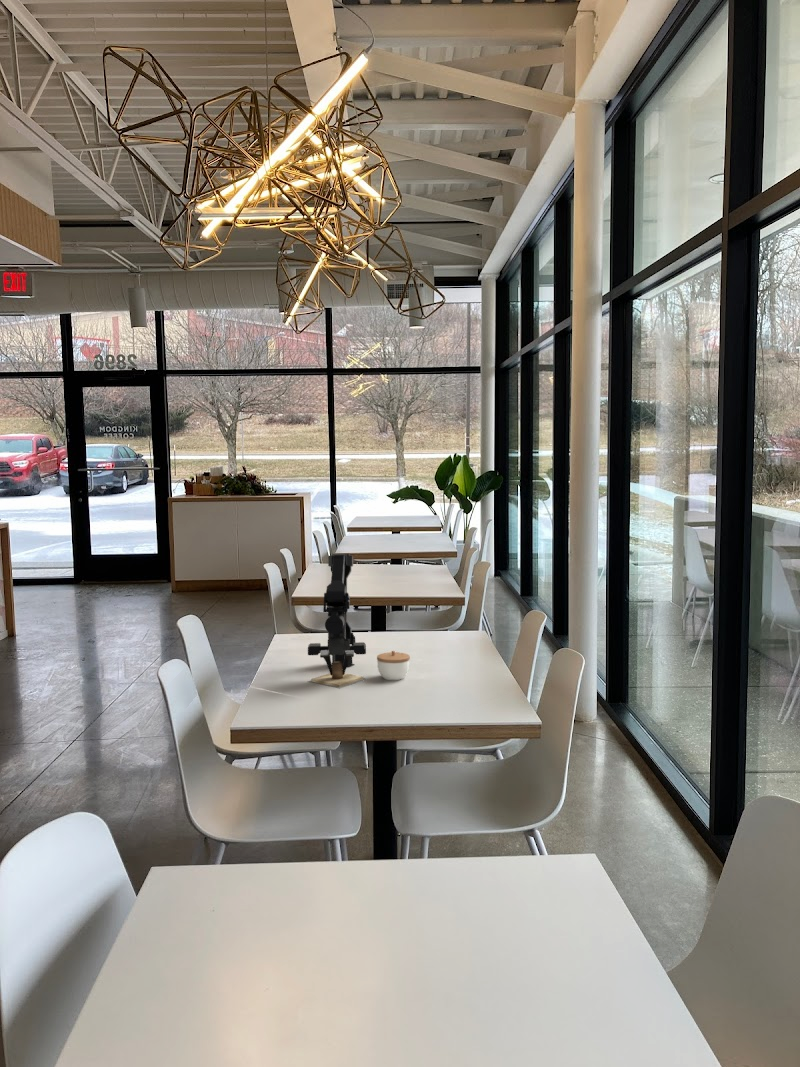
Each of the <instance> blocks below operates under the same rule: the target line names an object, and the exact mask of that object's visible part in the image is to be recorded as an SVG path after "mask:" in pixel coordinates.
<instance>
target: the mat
mask: <svg viewBox="0 0 800 1067" xmlns="http://www.w3.org/2000/svg"><path fill="white" fill-rule="evenodd" d="M366 679H367V678H366V677H365V678H364V679H363V680H364V681H366ZM363 680H359V681H356V682H353V683H350V684H347V685H344V686H341V687H336V686H331V685H326V684H321V683H317V682H312V681H311V680H308V681H307V683H312V684H315V685H322V686H325V687H331V688H335V689H342V688H346V687H349V686H352V685H356V684H357V683H360V682H364V681H363Z"/></svg>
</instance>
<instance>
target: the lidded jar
mask: <svg viewBox="0 0 800 1067" xmlns="http://www.w3.org/2000/svg"><path fill="white" fill-rule="evenodd" d="M410 657H411V656H410V654H408V653H405V652H396V650H391V652H384V653H380V654H378V655H377V656H376V660H377V661H376V662H377V670H378V672H379V675H380V676H381V677H382V678H383V679H384V680H386V681H399V680H400V679H401V680H403V679H404V678H405V677H406V676H407V674H408V672H409V670H410V669H409V668H410V660H411V659H410ZM401 680H400V681H401Z"/></svg>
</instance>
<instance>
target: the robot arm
mask: <svg viewBox="0 0 800 1067" xmlns="http://www.w3.org/2000/svg"><path fill="white" fill-rule="evenodd" d="M327 557H328V559H327V562H328V563H327V566H328V568H330V572H331V579H330V580H331V581H330V583H328V585H326V591H325V592H324V593H323V613H327V617H326V620H325V623H324V628H325V629H326V631H327V645H321V643H320V642H319V643H318V642H316V643H311V642H310V643H309V644H308V645H307V646H308V647H307V656H319V657H320V658H323V660H324V661H325V663H326V666H327V668H328V671H329V673H330V674H331V675H332V662H343V675H344V674H345V673H346V670H347V668H350V667H353V666H355V663H353V658H354V656H355V655H366V654H367V648H366V647H367V645H366V642H363V641H361V642H356V636H354V635H355V634H354V632H352V626H351V625H350V623H349V622H348V610H349V609H350V607H351V606H350V605H351V603H350V602H351V600H350V599H351V596H350V595H349V592H348V578H349V577H350V574H351V573H352V567H354V556H353V555H351V554H350V553H349V552H348V553H346V552H345V553H343V552H342V553H338V552H337V553H332V555H328V556H327ZM319 654H320V655H319ZM331 656H332V657H331ZM331 659H332V660H331Z"/></svg>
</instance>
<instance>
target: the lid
mask: <svg viewBox="0 0 800 1067" xmlns="http://www.w3.org/2000/svg"><path fill="white" fill-rule="evenodd" d="M331 665H332V675H331V674H330V672H329V673H326V674H323V675H319V676H316V677H314V678H311V680H310V681H312V682H317V683H321V684H326V685H331V686H336V687H341V686H344V685H347V684H350V683H353V682H356V681H359V680H363V679H364V676H362V675H357V674H351V673H347V672H345V674H344V675H343V662H332V661H331Z"/></svg>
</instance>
